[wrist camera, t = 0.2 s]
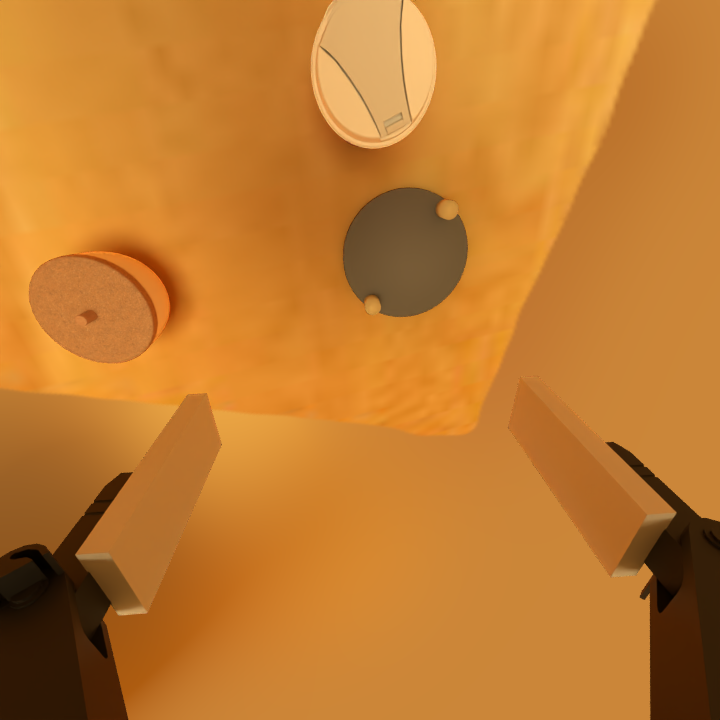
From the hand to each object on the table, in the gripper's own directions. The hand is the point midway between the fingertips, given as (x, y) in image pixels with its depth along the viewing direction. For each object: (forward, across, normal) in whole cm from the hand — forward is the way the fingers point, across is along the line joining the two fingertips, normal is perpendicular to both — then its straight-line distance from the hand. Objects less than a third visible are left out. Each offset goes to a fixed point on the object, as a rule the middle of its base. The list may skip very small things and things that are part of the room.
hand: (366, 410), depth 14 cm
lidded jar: (+28, -24, -2) cm, 37 cm away
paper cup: (+28, +2, +14) cm, 31 cm away
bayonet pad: (+27, +6, +1) cm, 28 cm away
